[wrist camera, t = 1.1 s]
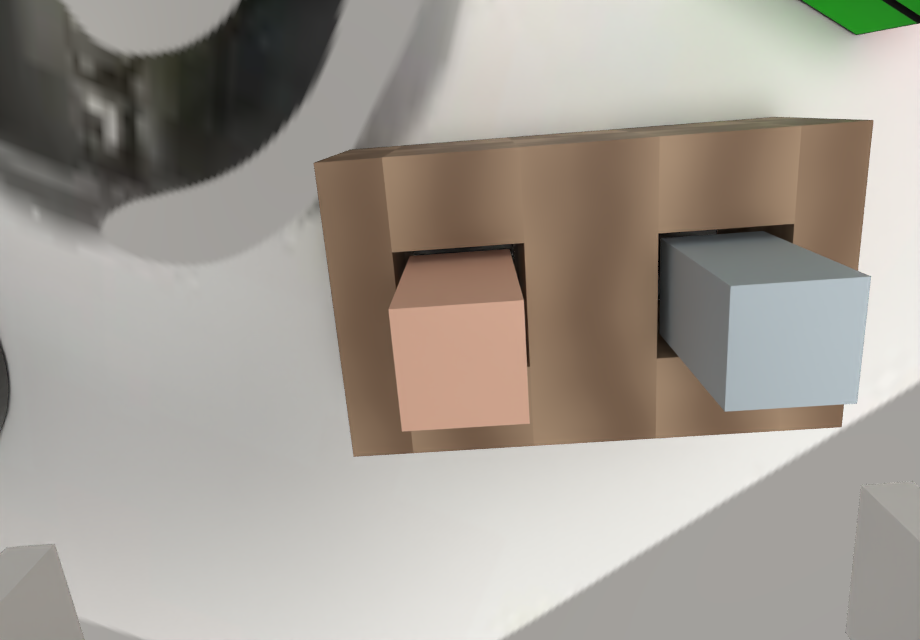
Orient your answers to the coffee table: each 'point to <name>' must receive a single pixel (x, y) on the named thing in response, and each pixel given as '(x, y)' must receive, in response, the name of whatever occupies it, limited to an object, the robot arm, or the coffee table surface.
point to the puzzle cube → (869, 13)
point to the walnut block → (580, 262)
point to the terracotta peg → (460, 342)
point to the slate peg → (763, 320)
